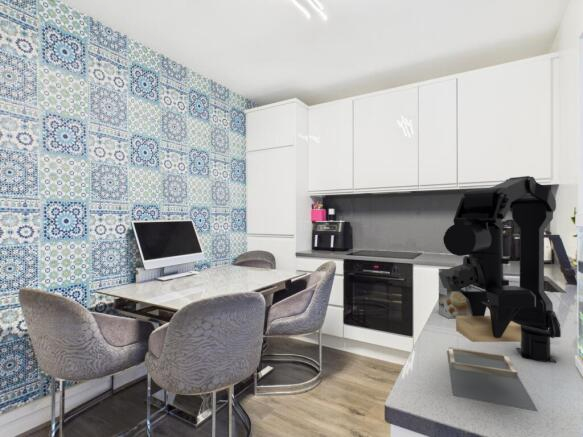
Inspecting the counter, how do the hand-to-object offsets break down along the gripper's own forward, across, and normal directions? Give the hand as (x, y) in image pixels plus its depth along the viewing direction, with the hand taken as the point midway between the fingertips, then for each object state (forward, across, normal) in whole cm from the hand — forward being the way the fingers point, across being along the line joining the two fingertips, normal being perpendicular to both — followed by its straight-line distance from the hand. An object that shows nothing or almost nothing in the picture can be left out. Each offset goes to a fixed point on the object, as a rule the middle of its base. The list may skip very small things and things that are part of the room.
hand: (487, 331), depth 61 cm
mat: (+12, -5, +2) cm, 13 cm away
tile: (+1, 0, 0) cm, 1 cm away
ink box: (+12, -57, +44) cm, 73 cm away
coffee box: (+12, -48, +17) cm, 53 cm away
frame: (+11, -10, +4) cm, 16 cm away
